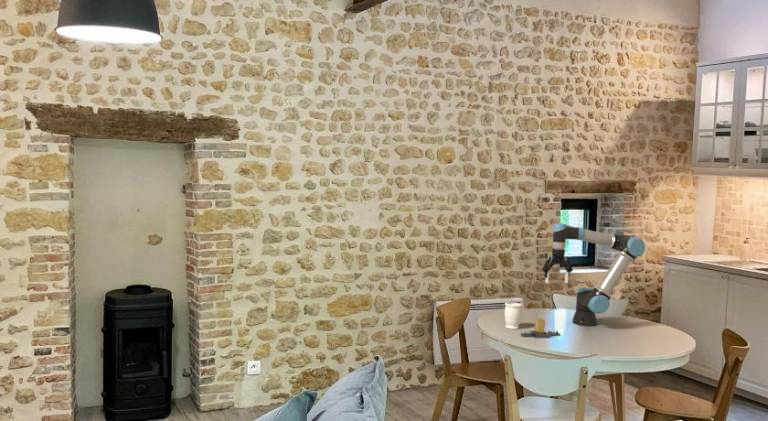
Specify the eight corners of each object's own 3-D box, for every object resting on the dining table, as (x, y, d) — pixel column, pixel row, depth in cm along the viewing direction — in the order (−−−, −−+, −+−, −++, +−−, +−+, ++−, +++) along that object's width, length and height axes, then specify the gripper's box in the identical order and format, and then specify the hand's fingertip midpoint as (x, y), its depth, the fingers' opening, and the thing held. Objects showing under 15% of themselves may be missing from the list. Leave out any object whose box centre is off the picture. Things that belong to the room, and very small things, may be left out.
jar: (520, 330, 408) (522, 306, 407) (503, 328, 410) (504, 304, 409) (520, 326, 419) (522, 302, 418) (504, 324, 421) (505, 301, 420)
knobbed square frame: (554, 333, 404) (554, 329, 404) (562, 337, 395) (562, 333, 395) (518, 334, 397) (518, 330, 397) (525, 338, 389) (525, 334, 388)
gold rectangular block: (540, 335, 399) (541, 318, 398) (544, 336, 395) (545, 320, 394) (534, 335, 398) (535, 318, 397) (537, 336, 394) (538, 320, 393)
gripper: (573, 247, 420) (571, 281, 422) (537, 247, 413) (535, 281, 415) (579, 249, 413) (577, 283, 415) (543, 249, 406) (541, 284, 408)
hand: (556, 282), depth 415 cm, fingers open, 13 cm apart
